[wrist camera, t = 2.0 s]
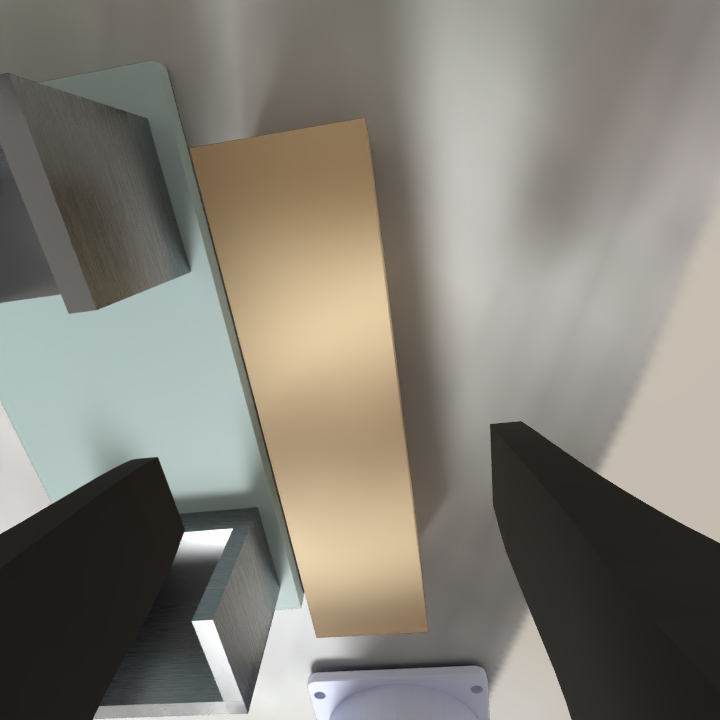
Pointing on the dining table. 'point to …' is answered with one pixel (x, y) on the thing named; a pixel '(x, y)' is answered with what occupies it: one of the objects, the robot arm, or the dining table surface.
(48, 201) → the bracket
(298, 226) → the rail
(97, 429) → the board
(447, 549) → the dining table surface
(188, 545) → the bracket
